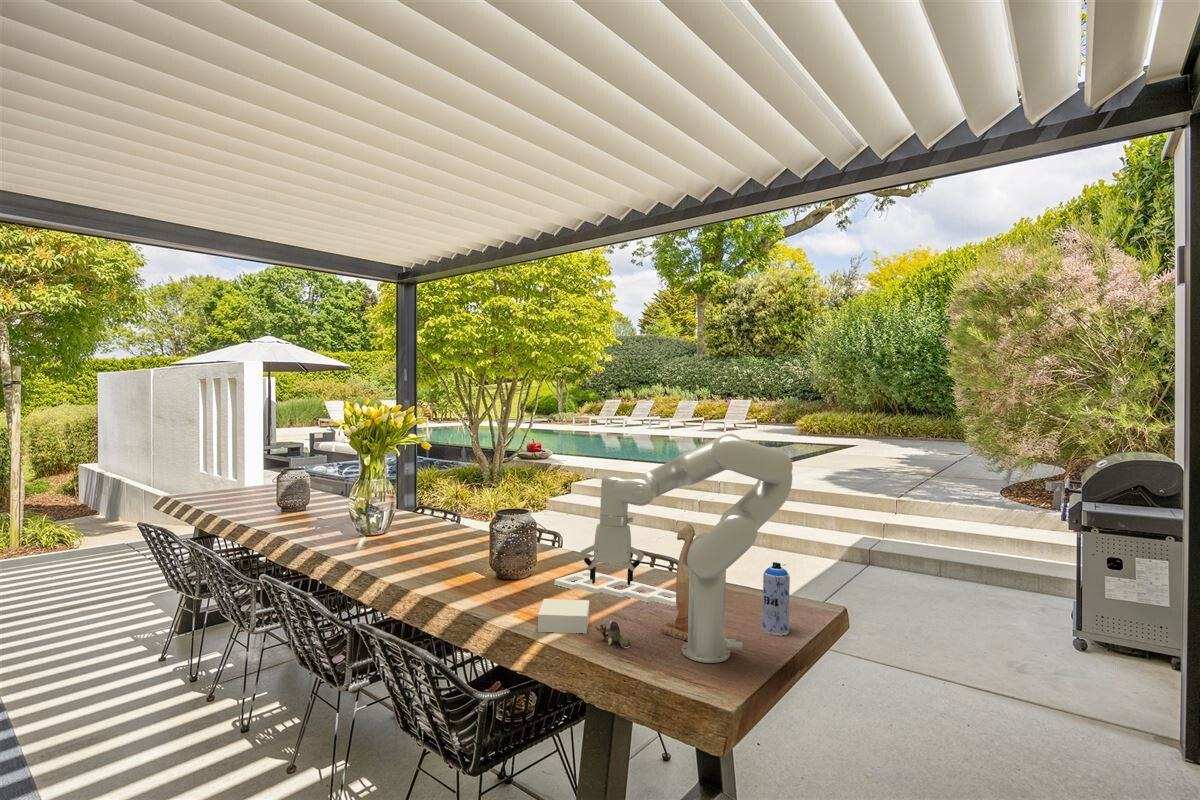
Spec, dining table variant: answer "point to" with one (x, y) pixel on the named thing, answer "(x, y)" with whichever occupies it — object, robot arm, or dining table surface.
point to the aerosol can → (776, 599)
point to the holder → (631, 591)
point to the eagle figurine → (613, 634)
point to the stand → (563, 616)
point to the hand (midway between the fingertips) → (611, 583)
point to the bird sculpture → (681, 588)
